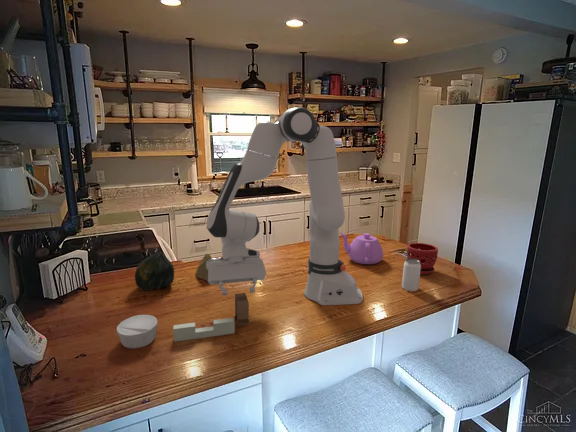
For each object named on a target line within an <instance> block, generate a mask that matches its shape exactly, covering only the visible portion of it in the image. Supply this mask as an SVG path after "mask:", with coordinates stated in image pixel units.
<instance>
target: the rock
mask: <svg viewBox="0 0 576 432" xmlns="http://www.w3.org/2000/svg"><path fill="white" fill-rule="evenodd" d="M211 258H212V256H211V254H209V253H205V254H204V256H203V257H202V259H201V261H200V263H199V265H198V266H197V269H196V271H195V274H194V275H195V276H196V277H197V278H198V279H201V280H203V281H207V282H208V270H207V269H206V262H207V261H208V260H210V259H211Z"/></svg>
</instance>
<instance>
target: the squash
mask: <svg viewBox="0 0 576 432" xmlns="http://www.w3.org/2000/svg"><path fill="white" fill-rule="evenodd" d="M174 278H175V268H174V265H173V263H172V262H171V261H170V260H169V258H168V257H167V256H166V255H165V254H164V253H163V252H156V253H154V254H152V255H149V256H148V257H146V258H145V259H143V260H140V262H139V263H138V265H137V267H136V269H135V273H134V281H135V284H136V287H138V288H139V289H140V290H146V291H152V290H154V289H155V290H159V289H162V288H165V287H169V286H171V285H172V284H173V282H174Z"/></svg>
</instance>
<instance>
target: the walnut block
mask: <svg viewBox="0 0 576 432" xmlns="http://www.w3.org/2000/svg"><path fill="white" fill-rule="evenodd" d="M249 303H250V302H249V300H248V296H247V294H246V292H241V293H240V292H239V293H235V294H234V313H235V314H234V316H235V318H237V320H236V321H237V327H244V326H249V324H250V317H249V316H250V313H249V311H250V309H249V307H250V306H249Z"/></svg>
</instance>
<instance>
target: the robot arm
mask: <svg viewBox="0 0 576 432" xmlns="http://www.w3.org/2000/svg"><path fill="white" fill-rule="evenodd" d="M333 133H334V132H333V131H332V130H331V128H330V127H328V126H326V125H320V124H319V122H318V121H317V119H316V118H315V116H314V115H313V113H312V112H311V111H310V110H309V109H308V108H305V107H302V106H296V107H291V108H288V109H286V111H284V112H283V113H282V114H280V115H279V116H278V117H277V119H275V121H273V122H272V121H267V120H265V121H260V122H258V123H257V124H256V126H255V127H254V129H253V131H252V133H251V136H250V139H249V142H248V145H247V147H246V148H247V150H246V151H245V154H244V156H243V158H242V159H241V160H240V161H239V162H237V163H235V164H234V165H233V166H232V167H231V169H230V171H229V172H228V174H227V177H226V179H225V181H224V183H223V185H222V187H221V190H220V192H219V195H218V197H217V199H216V201H215V203H214V205H213V207H212V209H211V210H210V213H209V214H208V216H207V219H206V229H207V231H208V232H209V233H210V235H212V236H213V237H214V238H220V240H221V243H222V246H221V247H222V248H221V252H222V253H221V254H222V256H221V257H217V258H214V257H211V259H210V260H208V261H207V262H206V269H207V270H208V281H207V283H208V284H209V285H210V286H211V285H218V287H219V289H220V290H221V291H222V293H221V294H222V296H228V289H227V288H224V286H223V285H224V284H231V283H242V282H251V283H252V284H253V285H252V286H250V287H249V293H252V294H253V293H255V292H256V285H257V282H258V281H264V279H265V278H266V276H267V272H266V268H265V267H266V266H265V264H264V261H263V259H262V258H261V253H260V251H259V250H256V249H251V248H247V246H246V245H247V242H250V241H252V240H253V239H254V238H255V237H257V236H258V234H259V233H260V227H261V226H260V221H259V219H258V216H257V215H256V214H254V213H251V212H246V211H239V210H233V209H230V208H231V206H232V203H233V201H234V198H235V197H236V195H237V192H238V190H239V189H240V187H241V186H243V185H245V184H247V183H252V182H256V181H263V180H265V179H267V178H268V177H270V176H271V175H272V174H273V173H274V171H275V169H276V166H277V163H278V159H279V156H280V152H281V151H280V150H281V149H282V147H283V145H284V144H285V143H286V142H293V143H297V142H299V143H301V144H302V146H303V148H304V151H305V163H306V173H307V182H308V188H309V192H310V203H309V239H310V240H309V258H308V261H307V273H308V275H307V281H306V286H305V289H304V292H303V294H304V296H305V297H306V298H307V299H308V300H311V301H314V302H316V304H319V305H321V306H337V305H338V306H340V305H359V304H361V303H362V302H363V299H364V298H363V293H362V290H361V289H360V288H359V287H358V285H357V284H358V283H357V282H356V279H355V278H354V276H353V275H351V274H350V273H348V272H347V271H346V265H345V264H344V262H343V260H342V259H339V258H340V256H339V255H340V241H341V240H340V232H339V229H340V228H341V227H342V226H343V224H344V222H345V219H346V213H345V207H344V199H343V195H342V188H341V184H340V177H339V165H338V154H337V148H336V141H335V137H334V134H333Z"/></svg>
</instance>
